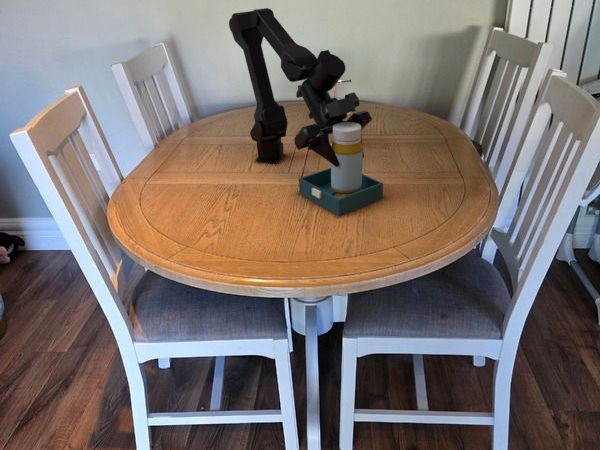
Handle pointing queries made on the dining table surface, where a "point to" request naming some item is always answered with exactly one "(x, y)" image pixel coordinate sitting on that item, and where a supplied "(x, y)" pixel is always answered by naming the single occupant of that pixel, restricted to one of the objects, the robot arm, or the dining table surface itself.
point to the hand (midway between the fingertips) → (350, 162)
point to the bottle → (347, 158)
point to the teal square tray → (322, 192)
